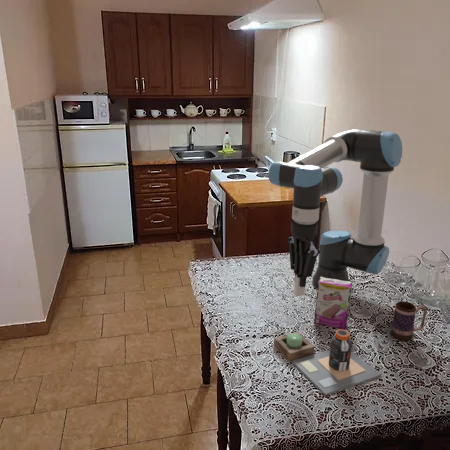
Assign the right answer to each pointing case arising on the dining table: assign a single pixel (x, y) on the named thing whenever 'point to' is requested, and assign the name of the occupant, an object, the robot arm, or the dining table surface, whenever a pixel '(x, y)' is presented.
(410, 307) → the mug
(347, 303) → the candy bar box
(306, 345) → the button box
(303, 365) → the picture board
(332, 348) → the pill bottle
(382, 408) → the dining table surface
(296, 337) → the button
